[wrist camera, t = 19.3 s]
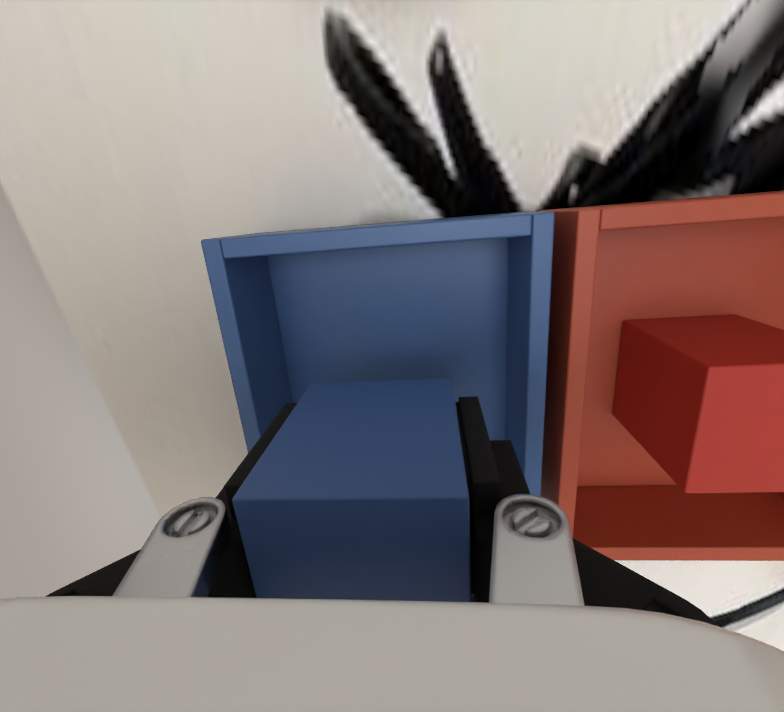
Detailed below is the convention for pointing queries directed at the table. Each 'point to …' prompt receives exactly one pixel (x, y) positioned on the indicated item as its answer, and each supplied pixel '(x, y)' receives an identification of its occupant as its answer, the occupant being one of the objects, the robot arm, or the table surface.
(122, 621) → the robot arm
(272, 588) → the blue block
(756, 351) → the red block
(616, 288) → the red bin
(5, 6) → the table surface
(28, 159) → the table surface
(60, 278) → the table surface
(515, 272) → the blue bin
